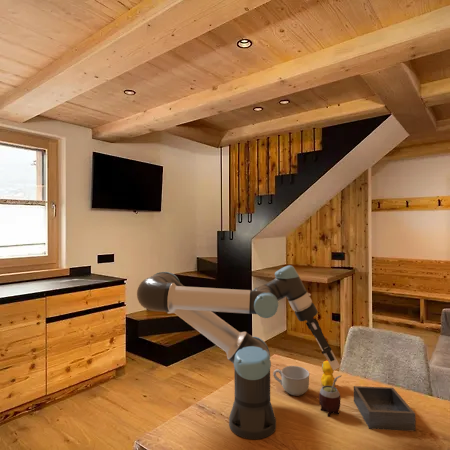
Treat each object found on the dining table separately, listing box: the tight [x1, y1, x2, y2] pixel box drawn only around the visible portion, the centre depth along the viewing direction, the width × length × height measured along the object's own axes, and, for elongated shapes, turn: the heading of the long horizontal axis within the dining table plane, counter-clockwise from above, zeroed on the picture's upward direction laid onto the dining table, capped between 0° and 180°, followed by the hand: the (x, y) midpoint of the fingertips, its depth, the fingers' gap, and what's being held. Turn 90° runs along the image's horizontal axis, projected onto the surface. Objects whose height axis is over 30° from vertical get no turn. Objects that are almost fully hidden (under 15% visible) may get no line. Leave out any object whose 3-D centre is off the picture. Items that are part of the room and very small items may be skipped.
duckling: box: [320, 359, 336, 388], centre depth 134 cm, size 11×5×10 cm, turn 167°
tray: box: [353, 385, 416, 432], centre depth 115 cm, size 14×17×6 cm
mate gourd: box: [318, 374, 342, 417], centre depth 116 cm, size 8×8×15 cm
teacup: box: [272, 365, 310, 397], centre depth 132 cm, size 14×11×8 cm
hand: (331, 360), depth 119 cm, fingers open, 13 cm apart
